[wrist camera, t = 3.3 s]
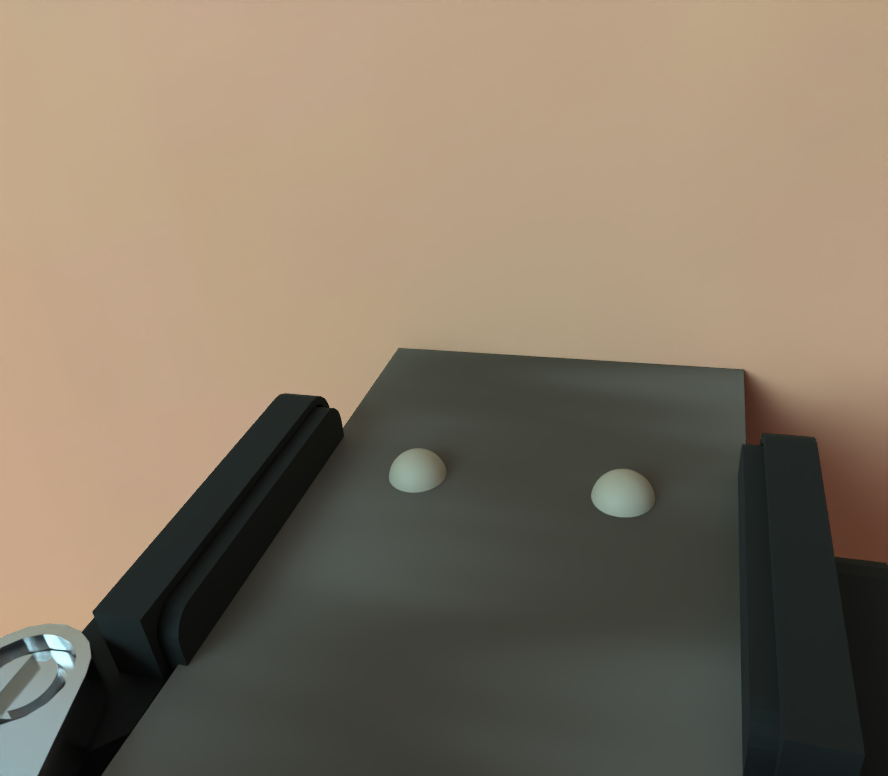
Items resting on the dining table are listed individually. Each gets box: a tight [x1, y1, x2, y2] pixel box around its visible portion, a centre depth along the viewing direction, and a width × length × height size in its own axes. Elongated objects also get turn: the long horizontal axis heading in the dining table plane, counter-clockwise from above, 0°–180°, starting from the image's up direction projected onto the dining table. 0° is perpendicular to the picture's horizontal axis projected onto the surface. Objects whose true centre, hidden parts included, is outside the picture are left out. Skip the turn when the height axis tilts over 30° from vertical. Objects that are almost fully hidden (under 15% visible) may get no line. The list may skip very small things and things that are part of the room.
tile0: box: [101, 348, 746, 776], centre depth 8 cm, size 5×2×10 cm, turn 96°
